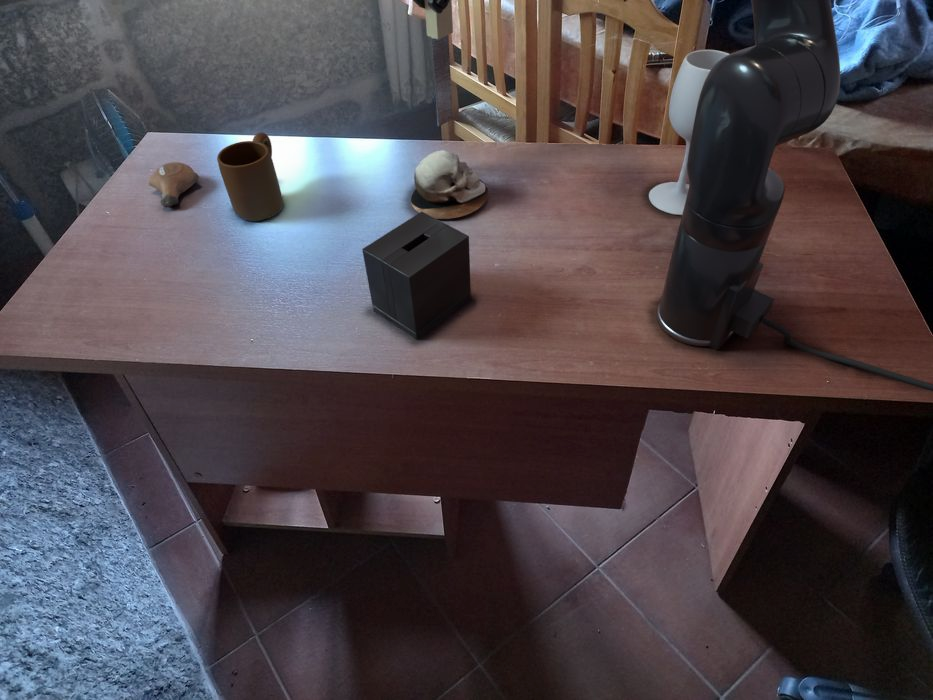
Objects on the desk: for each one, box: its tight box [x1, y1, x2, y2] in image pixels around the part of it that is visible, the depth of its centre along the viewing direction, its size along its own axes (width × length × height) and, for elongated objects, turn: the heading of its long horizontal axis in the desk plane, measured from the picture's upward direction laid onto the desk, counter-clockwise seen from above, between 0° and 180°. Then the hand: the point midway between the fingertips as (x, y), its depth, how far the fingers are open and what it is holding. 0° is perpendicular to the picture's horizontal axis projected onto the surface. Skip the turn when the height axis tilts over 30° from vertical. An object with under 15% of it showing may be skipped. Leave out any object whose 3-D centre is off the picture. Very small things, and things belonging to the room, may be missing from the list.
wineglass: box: [648, 49, 730, 216], centre depth 92 cm, size 9×9×21 cm
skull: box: [410, 149, 489, 220], centre depth 100 cm, size 12×10×10 cm
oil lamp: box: [147, 161, 200, 208], centre depth 103 cm, size 9×4×8 cm
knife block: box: [361, 212, 472, 340], centre depth 81 cm, size 8×10×10 cm
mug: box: [216, 131, 284, 222], centre depth 99 cm, size 12×8×9 cm, turn 171°
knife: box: [424, 0, 454, 127], centre depth 85 cm, size 2×3×20 cm
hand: (426, 6), depth 80 cm, fingers closed on knife, 2 cm apart
